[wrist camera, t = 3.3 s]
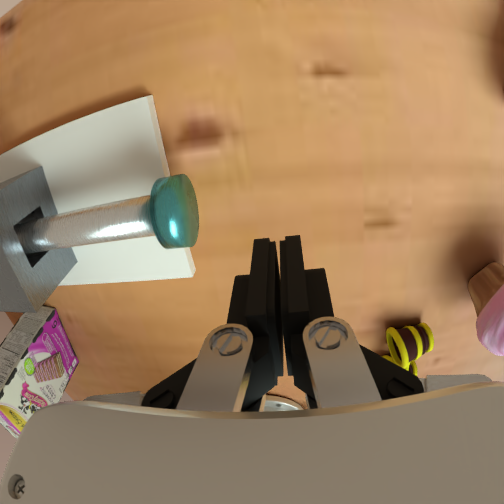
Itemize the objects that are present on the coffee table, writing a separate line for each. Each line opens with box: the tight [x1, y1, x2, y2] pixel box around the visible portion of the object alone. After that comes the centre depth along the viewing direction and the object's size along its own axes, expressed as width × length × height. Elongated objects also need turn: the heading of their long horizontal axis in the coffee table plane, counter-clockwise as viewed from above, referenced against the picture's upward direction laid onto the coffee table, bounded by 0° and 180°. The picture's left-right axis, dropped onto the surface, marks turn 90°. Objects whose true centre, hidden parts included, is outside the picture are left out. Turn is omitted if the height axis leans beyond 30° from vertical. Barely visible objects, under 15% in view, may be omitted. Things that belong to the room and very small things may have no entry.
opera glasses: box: [381, 323, 434, 376], centre depth 31 cm, size 10×5×5 cm, turn 1°
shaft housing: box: [0, 166, 78, 313], centre depth 23 cm, size 12×10×8 cm
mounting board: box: [0, 95, 196, 286], centre depth 26 cm, size 26×16×1 cm, turn 99°
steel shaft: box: [13, 174, 199, 254], centre depth 21 cm, size 23×5×5 cm, turn 99°
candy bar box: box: [0, 305, 79, 439], centre depth 30 cm, size 11×5×16 cm, turn 176°
